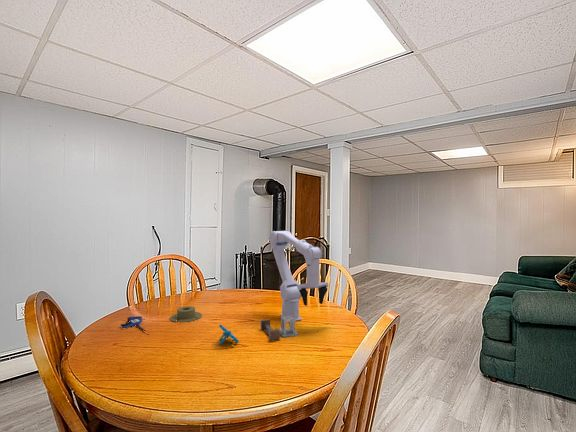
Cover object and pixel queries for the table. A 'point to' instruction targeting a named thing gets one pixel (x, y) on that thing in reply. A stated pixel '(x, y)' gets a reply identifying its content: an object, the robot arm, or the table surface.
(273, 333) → the rail
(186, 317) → the flange
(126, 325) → the bar clamp
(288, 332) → the mat
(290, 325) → the bracket
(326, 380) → the table surface
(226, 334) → the blue lobed piece
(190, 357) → the table surface
